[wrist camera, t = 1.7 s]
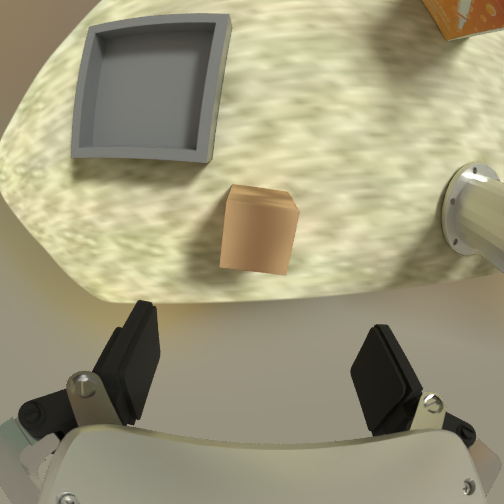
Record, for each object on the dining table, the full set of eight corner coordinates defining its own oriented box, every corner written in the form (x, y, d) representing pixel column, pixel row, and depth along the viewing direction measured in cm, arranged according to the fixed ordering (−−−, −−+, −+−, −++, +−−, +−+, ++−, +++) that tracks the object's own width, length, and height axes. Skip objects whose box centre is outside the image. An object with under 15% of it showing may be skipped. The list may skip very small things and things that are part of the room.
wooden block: (288, 191, 27) (299, 211, 20) (278, 242, 29) (286, 275, 23) (232, 184, 27) (226, 201, 20) (226, 235, 29) (219, 267, 22)
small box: (410, -12, 15) (471, -48, 4) (440, -13, 14) (498, -40, 2) (445, 43, 18) (519, 26, 6) (471, 37, 17) (539, 26, 5)
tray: (232, 27, 20) (229, 14, 16) (212, 159, 25) (206, 163, 22) (104, 34, 19) (89, 26, 16) (88, 153, 25) (70, 158, 21)
